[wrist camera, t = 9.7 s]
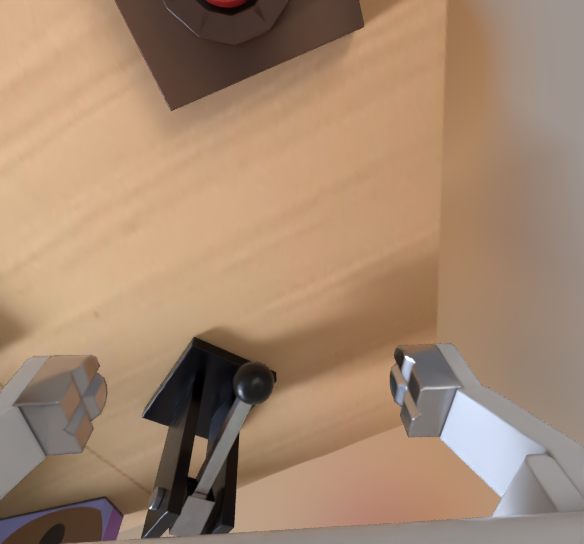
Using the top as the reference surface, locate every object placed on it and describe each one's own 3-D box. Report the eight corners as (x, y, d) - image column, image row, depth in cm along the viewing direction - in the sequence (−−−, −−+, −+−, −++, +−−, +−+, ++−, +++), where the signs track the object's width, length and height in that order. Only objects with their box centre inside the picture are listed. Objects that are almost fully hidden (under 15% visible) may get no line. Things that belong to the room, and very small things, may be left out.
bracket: (193, 336, 32) (159, 477, 21) (276, 371, 35) (284, 511, 24) (144, 407, 36) (93, 557, 25) (222, 434, 39) (207, 577, 28)
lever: (240, 350, 28) (250, 362, 25) (273, 365, 29) (286, 378, 26) (161, 505, 27) (161, 537, 24) (199, 514, 28) (204, 546, 25)
